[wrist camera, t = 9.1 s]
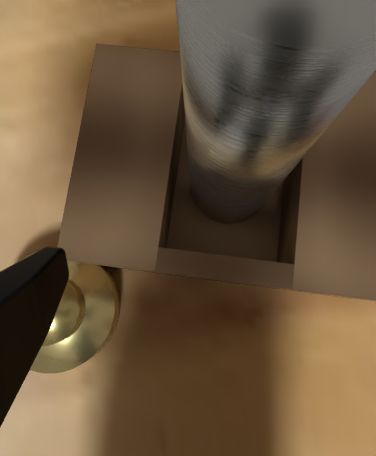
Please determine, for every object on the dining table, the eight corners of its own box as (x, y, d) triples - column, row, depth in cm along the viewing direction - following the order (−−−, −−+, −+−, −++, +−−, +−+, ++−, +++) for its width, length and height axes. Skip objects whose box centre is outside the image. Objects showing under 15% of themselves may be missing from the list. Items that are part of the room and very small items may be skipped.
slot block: (353, 298, 17) (399, 303, 13) (86, 263, 18) (55, 258, 14) (362, 117, 19) (406, 73, 15) (117, 92, 19) (96, 43, 15)
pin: (273, 218, 17) (502, 20, 4) (195, 228, 17) (188, 61, 4) (260, 145, 18) (425, -219, 5) (186, 154, 18) (155, -181, 5)
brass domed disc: (76, 391, 17) (57, 407, 15) (-17, 324, 17) (-48, 330, 15) (142, 288, 17) (134, 289, 15) (50, 228, 18) (30, 221, 16)
